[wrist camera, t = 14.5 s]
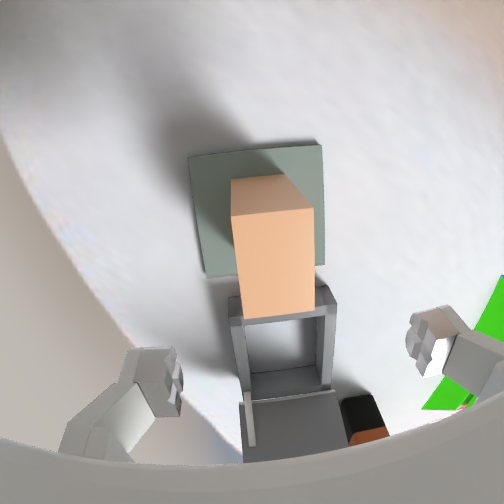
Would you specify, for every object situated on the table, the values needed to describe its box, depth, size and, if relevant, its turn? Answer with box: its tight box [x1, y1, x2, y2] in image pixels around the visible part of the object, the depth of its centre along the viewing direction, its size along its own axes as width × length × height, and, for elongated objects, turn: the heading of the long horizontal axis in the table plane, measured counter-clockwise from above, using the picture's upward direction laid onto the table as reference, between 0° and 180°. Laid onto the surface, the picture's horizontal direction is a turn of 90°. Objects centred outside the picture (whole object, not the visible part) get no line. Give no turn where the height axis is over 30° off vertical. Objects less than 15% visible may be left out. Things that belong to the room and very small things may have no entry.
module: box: [231, 174, 315, 319], centre depth 20 cm, size 6×4×9 cm, turn 5°
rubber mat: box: [187, 145, 325, 278], centre depth 25 cm, size 10×10×1 cm
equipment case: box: [228, 286, 349, 463], centre depth 25 cm, size 15×10×15 cm, turn 5°
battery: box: [340, 395, 390, 447], centre depth 32 cm, size 4×7×10 cm, turn 1°
